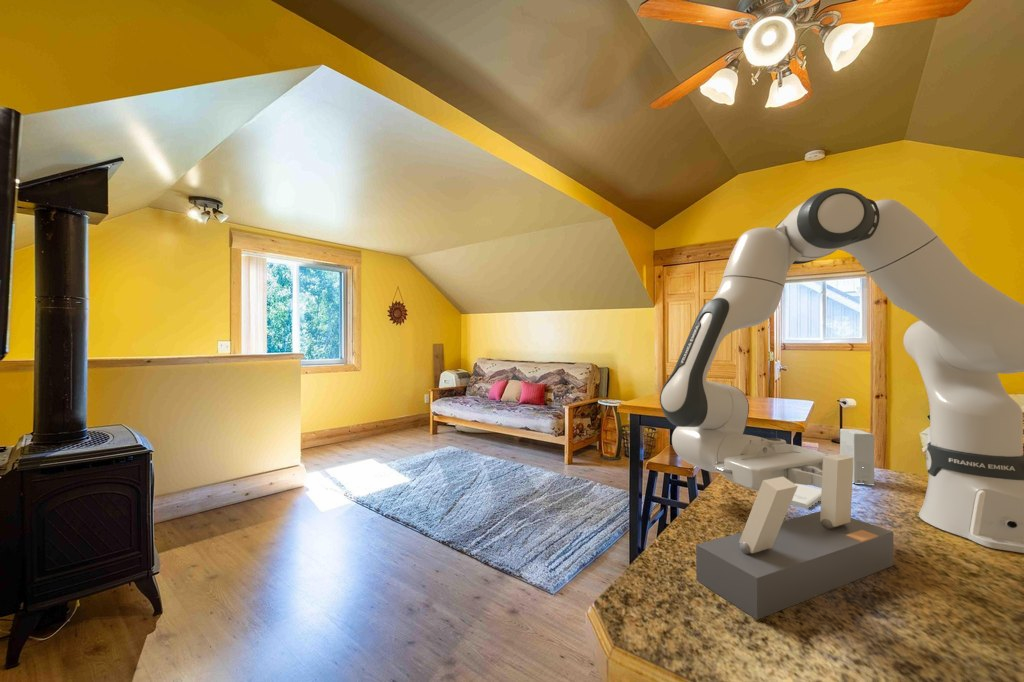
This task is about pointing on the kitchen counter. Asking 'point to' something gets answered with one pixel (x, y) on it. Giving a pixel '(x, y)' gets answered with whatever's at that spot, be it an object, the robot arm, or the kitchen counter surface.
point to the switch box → (793, 563)
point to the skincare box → (859, 453)
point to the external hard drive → (806, 496)
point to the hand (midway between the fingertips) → (829, 481)
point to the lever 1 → (767, 514)
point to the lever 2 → (836, 490)
